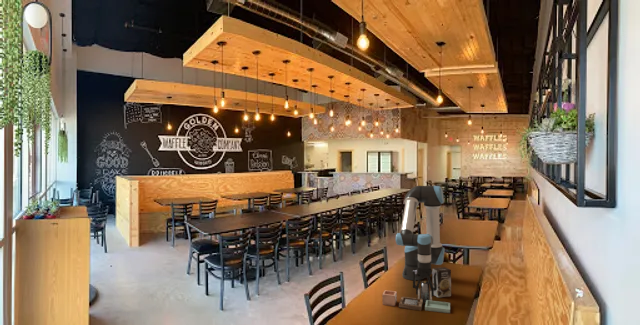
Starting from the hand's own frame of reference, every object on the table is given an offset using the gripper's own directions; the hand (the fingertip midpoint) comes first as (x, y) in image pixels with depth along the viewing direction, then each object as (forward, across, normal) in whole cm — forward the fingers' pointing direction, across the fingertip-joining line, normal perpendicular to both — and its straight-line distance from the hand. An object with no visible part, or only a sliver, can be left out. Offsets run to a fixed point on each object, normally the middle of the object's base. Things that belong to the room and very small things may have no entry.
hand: (424, 300), depth 217 cm
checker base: (0, -7, -8) cm, 11 cm away
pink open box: (0, -19, -9) cm, 21 cm away
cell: (0, 0, 0) cm, 0 cm away
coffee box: (+1, +9, +13) cm, 16 cm away
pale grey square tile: (0, -7, -8) cm, 11 cm away
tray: (0, +8, -8) cm, 11 cm away
